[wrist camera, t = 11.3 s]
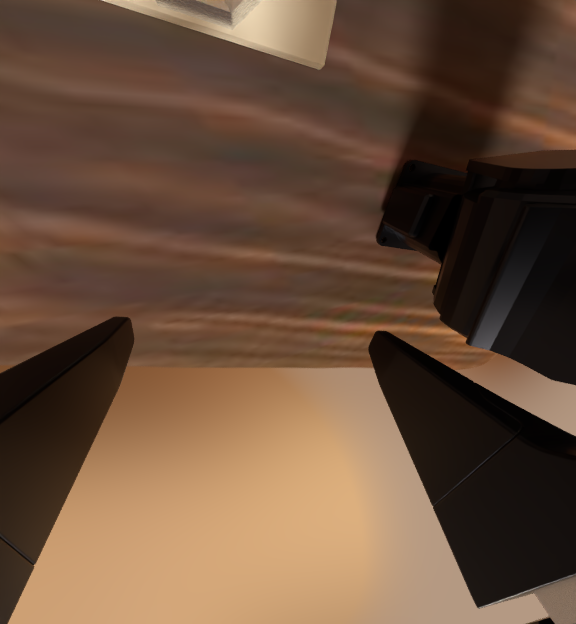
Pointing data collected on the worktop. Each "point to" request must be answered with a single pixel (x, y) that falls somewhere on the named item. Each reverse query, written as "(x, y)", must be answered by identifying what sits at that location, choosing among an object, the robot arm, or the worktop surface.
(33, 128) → the worktop surface
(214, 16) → the socket collar
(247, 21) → the carrier plate
